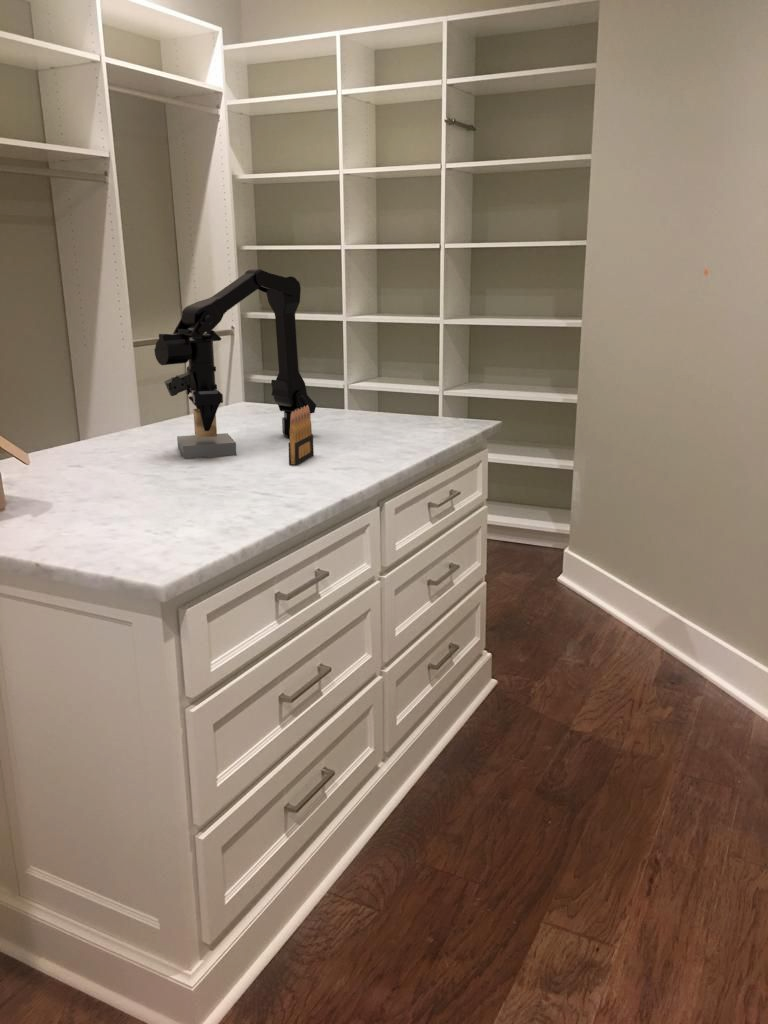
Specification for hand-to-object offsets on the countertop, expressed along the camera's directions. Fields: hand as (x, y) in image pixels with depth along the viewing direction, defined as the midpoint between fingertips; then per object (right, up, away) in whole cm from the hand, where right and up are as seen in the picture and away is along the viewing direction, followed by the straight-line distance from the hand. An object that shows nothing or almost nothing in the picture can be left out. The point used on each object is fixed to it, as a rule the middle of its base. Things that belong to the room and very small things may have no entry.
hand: (205, 428), depth 198 cm
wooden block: (0, -1, 0) cm, 2 cm away
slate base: (0, -5, +2) cm, 6 cm away
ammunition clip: (+23, -8, -7) cm, 26 cm away
